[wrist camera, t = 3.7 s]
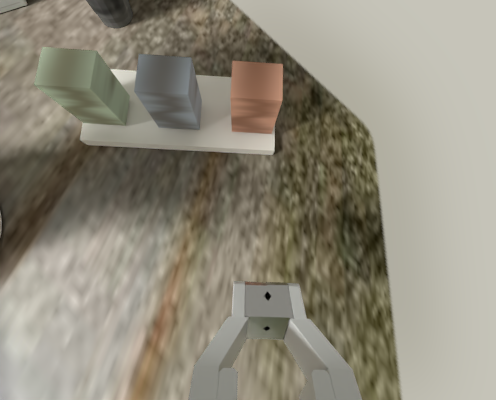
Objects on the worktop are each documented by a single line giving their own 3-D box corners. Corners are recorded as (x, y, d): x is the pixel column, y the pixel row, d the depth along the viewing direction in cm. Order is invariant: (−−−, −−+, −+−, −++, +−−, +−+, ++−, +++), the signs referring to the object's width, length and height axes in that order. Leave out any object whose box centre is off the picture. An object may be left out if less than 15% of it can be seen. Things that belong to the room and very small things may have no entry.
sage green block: (83, 123, 28) (33, 84, 21) (88, 93, 29) (42, 47, 22) (125, 125, 28) (89, 88, 21) (129, 96, 29) (96, 50, 22)
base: (87, 145, 30) (77, 139, 28) (99, 75, 31) (90, 66, 30) (272, 155, 31) (274, 149, 29) (273, 87, 32) (276, 78, 31)
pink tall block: (231, 131, 29) (230, 97, 22) (233, 102, 29) (232, 60, 23) (271, 133, 29) (282, 100, 22) (272, 105, 30) (282, 64, 23)
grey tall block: (158, 127, 28) (133, 91, 21) (162, 98, 29) (139, 53, 22) (199, 129, 29) (188, 94, 22) (201, 100, 29) (191, 57, 22)
